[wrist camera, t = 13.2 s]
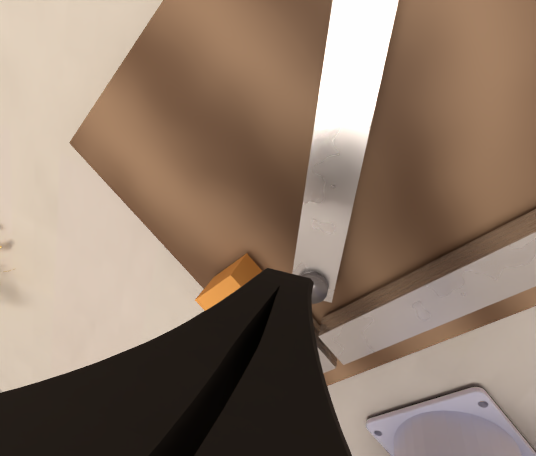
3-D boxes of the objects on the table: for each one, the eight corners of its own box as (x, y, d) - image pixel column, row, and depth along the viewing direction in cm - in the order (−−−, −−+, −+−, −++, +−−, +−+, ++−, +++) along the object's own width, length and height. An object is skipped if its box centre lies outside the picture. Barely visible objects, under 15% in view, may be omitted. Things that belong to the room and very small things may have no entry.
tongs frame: (301, 364, 21) (294, 393, 20) (247, 305, 21) (234, 329, 19) (905, 98, 10) (1029, 103, 8) (830, -53, 9) (945, -86, 7)
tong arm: (335, 285, 18) (317, 369, 13) (296, 275, 19) (264, 353, 14) (439, -188, 10) (500, -449, 5) (367, -184, 11) (357, -420, 6)
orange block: (239, 305, 21) (224, 330, 19) (213, 277, 21) (195, 300, 19) (273, 283, 20) (261, 308, 17) (246, 253, 19) (230, 275, 17)
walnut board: (304, 385, 24) (302, 395, 23) (79, 140, 21) (69, 142, 20) (990, 111, 10) (1035, 113, 10) (630, -671, 8) (656, -749, 7)
